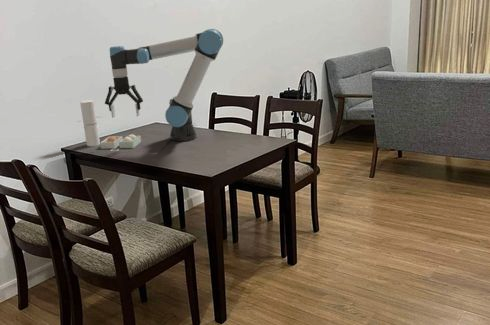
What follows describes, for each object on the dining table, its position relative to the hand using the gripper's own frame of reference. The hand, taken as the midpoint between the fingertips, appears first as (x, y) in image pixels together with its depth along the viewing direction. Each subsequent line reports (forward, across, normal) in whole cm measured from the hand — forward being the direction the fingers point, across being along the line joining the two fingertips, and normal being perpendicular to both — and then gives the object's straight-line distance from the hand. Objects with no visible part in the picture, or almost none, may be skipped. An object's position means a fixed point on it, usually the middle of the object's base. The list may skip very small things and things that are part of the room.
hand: (125, 116), depth 262 cm
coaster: (+17, +6, +8) cm, 19 cm away
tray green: (+17, 0, -2) cm, 17 cm away
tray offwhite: (+17, +11, -2) cm, 20 cm away
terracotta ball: (+16, +11, -2) cm, 20 cm away
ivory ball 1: (+16, 0, 0) cm, 16 cm away
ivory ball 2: (+16, 0, -6) cm, 17 cm away
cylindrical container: (+17, +23, -5) cm, 29 cm away
